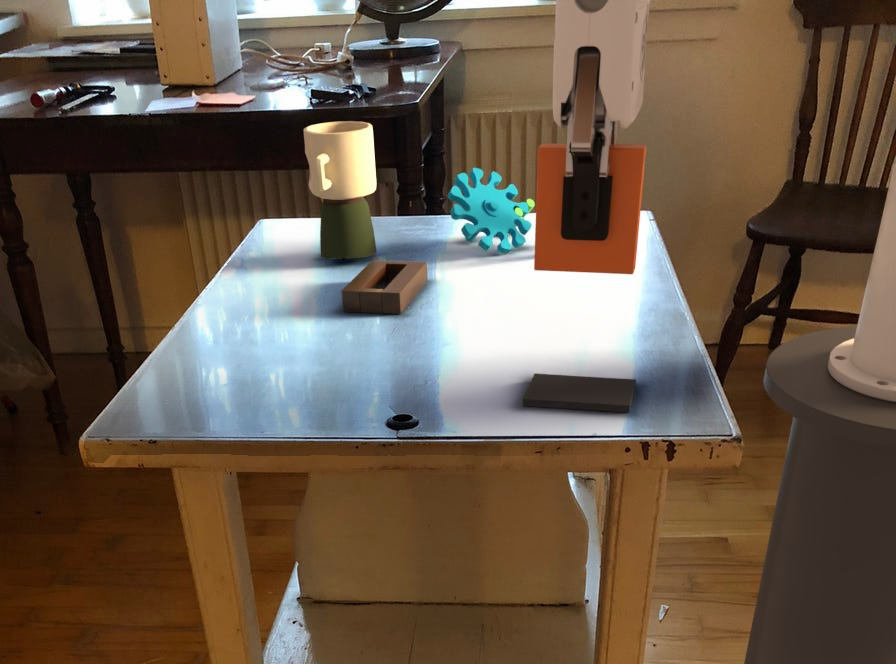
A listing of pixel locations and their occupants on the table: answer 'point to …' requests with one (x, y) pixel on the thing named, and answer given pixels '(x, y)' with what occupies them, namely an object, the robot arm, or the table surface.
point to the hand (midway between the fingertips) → (586, 232)
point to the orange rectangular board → (624, 214)
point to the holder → (395, 297)
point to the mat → (580, 393)
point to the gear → (490, 211)
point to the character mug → (343, 186)
